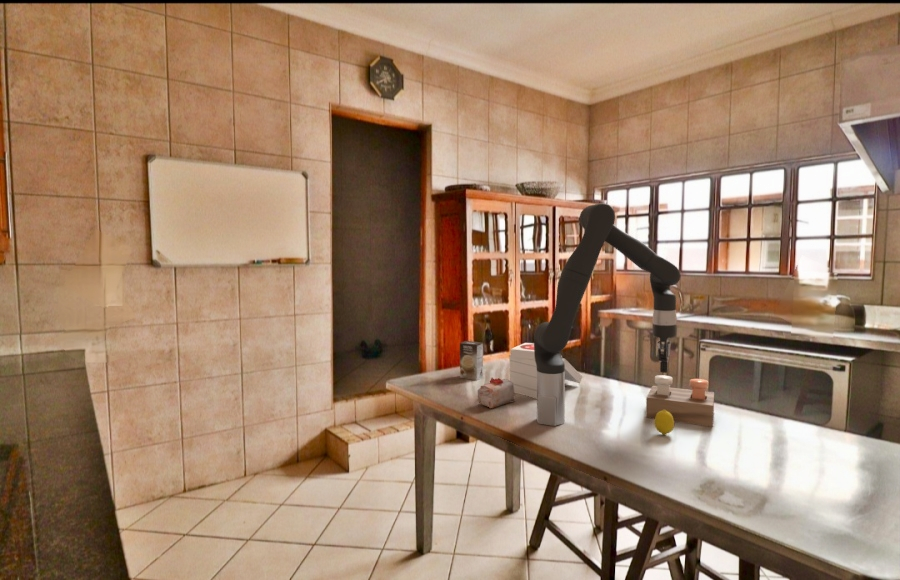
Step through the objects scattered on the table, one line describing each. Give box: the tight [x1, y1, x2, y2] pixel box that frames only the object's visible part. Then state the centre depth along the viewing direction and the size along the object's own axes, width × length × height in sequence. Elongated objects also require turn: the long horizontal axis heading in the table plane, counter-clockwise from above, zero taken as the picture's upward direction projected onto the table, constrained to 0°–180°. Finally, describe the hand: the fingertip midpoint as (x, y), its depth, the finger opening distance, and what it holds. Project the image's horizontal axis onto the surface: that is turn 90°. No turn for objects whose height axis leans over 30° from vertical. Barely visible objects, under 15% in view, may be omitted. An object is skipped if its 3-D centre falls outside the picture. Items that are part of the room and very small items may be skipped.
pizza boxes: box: [508, 342, 583, 400], centre depth 206 cm, size 19×30×18 cm, turn 127°
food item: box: [477, 377, 516, 409], centre depth 187 cm, size 14×8×10 cm, turn 131°
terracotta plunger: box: [689, 378, 709, 400], centre depth 168 cm, size 6×6×8 cm
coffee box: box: [459, 340, 484, 381], centre depth 225 cm, size 9×6×16 cm
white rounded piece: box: [654, 374, 673, 396], centre depth 174 cm, size 6×6×8 cm
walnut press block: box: [645, 385, 715, 428], centre depth 171 cm, size 16×20×7 cm
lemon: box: [654, 410, 675, 436], centre depth 154 cm, size 6×6×8 cm
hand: (663, 372), depth 173 cm, fingers closed
